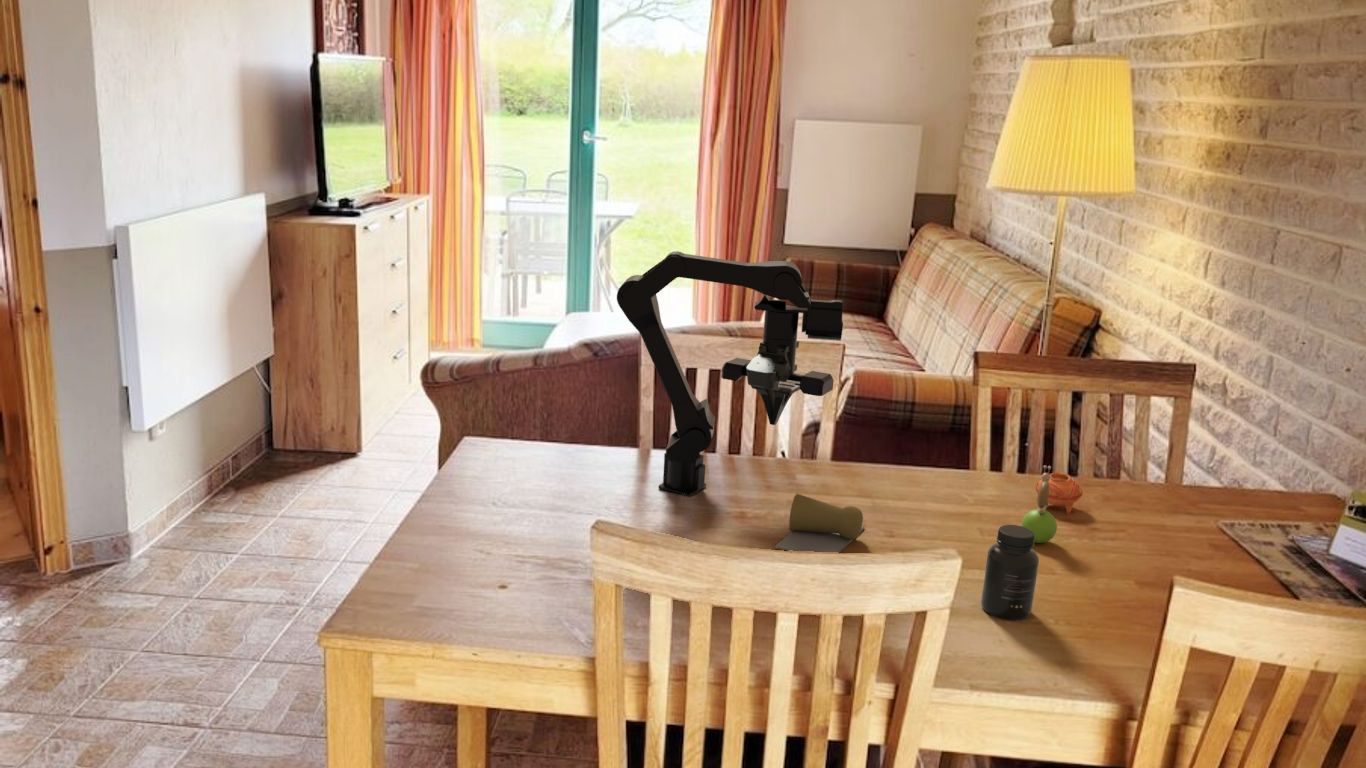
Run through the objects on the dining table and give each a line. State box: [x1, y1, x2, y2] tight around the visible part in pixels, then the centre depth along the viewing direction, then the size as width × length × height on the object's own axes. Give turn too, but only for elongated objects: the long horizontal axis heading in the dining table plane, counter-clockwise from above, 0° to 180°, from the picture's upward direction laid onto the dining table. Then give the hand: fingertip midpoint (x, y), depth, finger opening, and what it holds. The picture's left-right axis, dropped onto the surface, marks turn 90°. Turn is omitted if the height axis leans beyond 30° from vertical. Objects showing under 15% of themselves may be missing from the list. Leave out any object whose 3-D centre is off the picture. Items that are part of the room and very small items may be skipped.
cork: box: [788, 493, 864, 540], centre depth 171 cm, size 6×6×11 cm
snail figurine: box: [1021, 465, 1058, 544], centre depth 173 cm, size 5×6×12 cm
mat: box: [775, 525, 865, 553], centre depth 171 cm, size 9×16×1 cm, turn 152°
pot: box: [1034, 472, 1083, 514], centre depth 190 cm, size 8×8×7 cm
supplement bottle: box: [980, 524, 1040, 621], centre depth 148 cm, size 7×7×12 cm
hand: (773, 424), depth 186 cm, fingers closed
